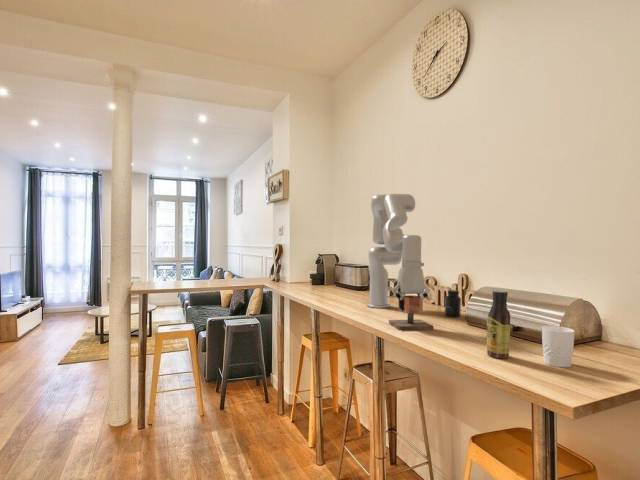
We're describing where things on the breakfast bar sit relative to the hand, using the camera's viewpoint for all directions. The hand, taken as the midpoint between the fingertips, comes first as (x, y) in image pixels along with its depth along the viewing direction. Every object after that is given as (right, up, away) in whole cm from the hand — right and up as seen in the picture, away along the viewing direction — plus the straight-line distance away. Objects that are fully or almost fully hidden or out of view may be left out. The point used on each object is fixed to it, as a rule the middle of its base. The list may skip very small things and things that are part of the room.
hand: (410, 309), depth 149 cm
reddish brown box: (0, -1, 0) cm, 1 cm away
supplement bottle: (+25, -8, +23) cm, 35 cm away
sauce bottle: (+17, -7, -38) cm, 42 cm away
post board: (0, -7, 0) cm, 7 cm away
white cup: (+31, -8, -44) cm, 54 cm away
